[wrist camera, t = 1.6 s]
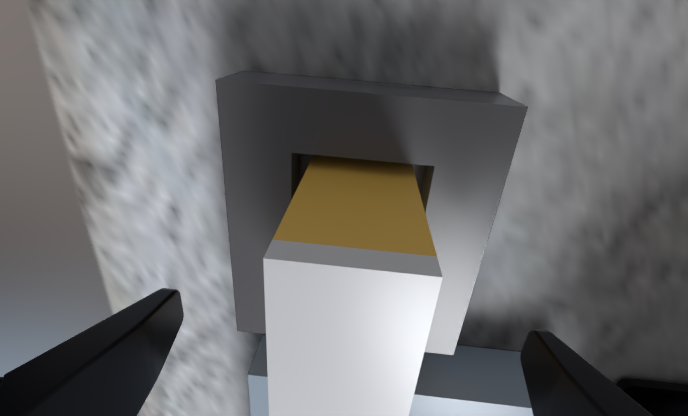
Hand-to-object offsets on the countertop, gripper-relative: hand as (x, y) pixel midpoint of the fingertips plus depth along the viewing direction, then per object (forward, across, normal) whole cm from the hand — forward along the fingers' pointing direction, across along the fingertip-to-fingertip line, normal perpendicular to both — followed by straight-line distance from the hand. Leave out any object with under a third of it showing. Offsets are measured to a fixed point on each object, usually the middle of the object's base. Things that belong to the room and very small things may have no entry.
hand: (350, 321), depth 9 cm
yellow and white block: (+5, 0, 0) cm, 5 cm away
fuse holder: (+6, 0, 0) cm, 6 cm away
